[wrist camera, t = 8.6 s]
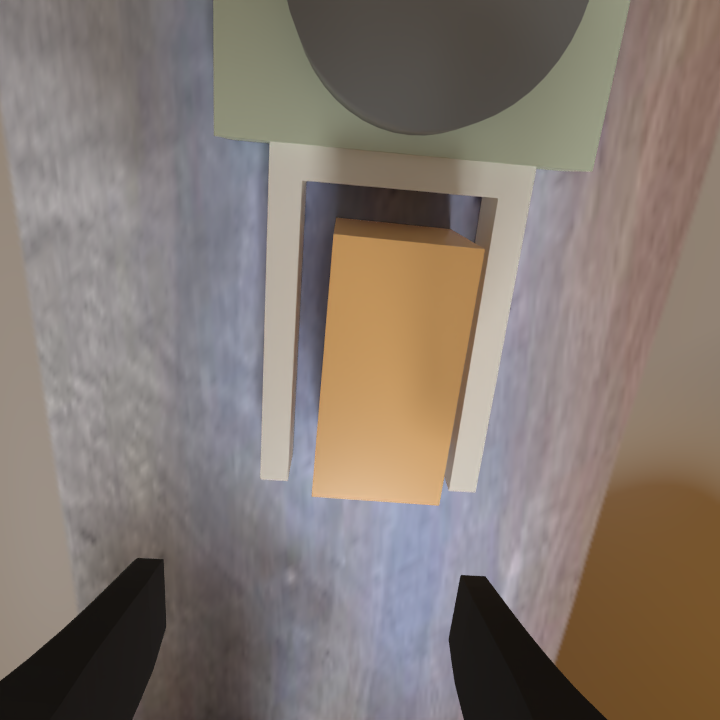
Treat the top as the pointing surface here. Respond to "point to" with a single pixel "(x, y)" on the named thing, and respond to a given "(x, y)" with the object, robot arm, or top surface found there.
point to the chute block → (393, 359)
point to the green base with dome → (410, 144)
